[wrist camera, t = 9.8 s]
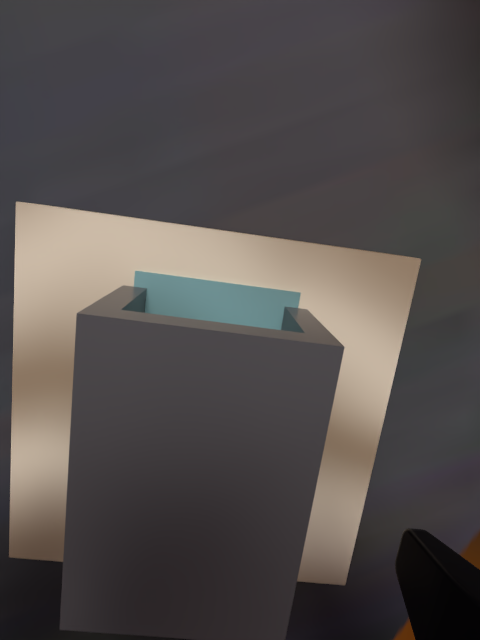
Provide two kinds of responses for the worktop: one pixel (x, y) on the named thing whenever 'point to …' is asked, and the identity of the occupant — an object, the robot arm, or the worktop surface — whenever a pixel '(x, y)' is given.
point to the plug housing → (191, 470)
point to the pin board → (202, 304)
